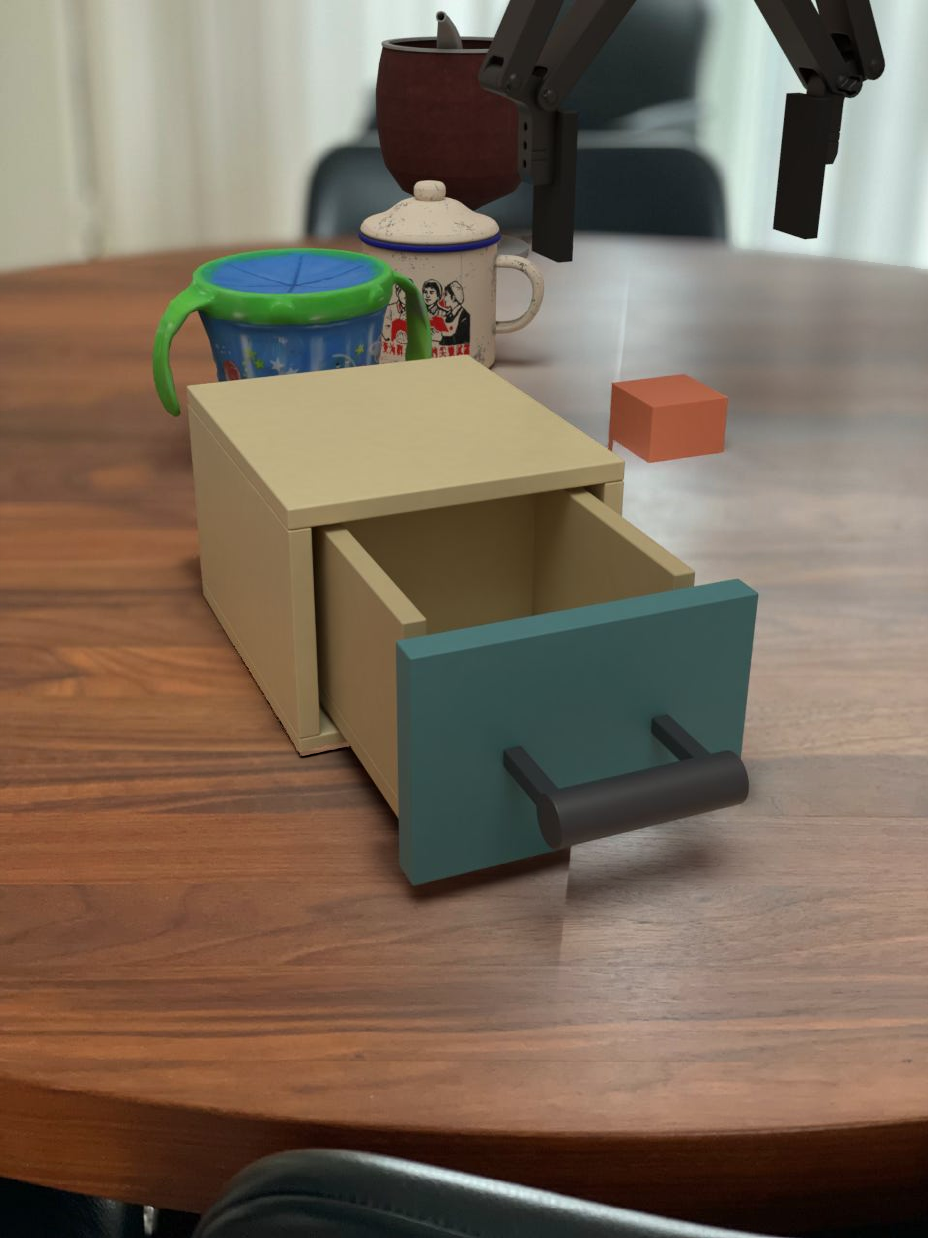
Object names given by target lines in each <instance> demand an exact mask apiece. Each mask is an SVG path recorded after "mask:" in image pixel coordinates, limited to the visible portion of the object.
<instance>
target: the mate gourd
mask: <svg viewBox="0 0 928 1238" xmlns="http://www.w3.org/2000/svg"><path fill="white" fill-rule="evenodd" d="M435 20H436V22H437V29H436V36H435V35H433V36H411V37H410V36H409V37H397V38H390V39H386V40H383V41H381V52H380V55H379V56H380V57H379V61H378V67H377V68H378V69H377V77H376V85H375V123H376V130H377V134H378V141H379V148H380V151H381V156H382V159H383V163H384V166H385V168H386V169H387V171H388V172H389V174H390V175H391V176H392V178H393V179H394V181H395V182H396V184H397V185H398V186H399V188H400V190H402V191H403V193H406V194H408V195H410V196H412V197H415V195H414V186H415V184H416V183H417V182H419V181H428V180H430V181H440V182H442V183H443V184H444V185H445V188H446V194H445V196H444V197H447V198H451V199H454V200H457V201H459V202H461V203H462V204H463V205H465V206H466V207H467V208H469V209H470V210H472V211H473V212H475V211H477V210H479V209H481V208H482V207H485V206H486V205H488V204H492V203H493V202H495V201H497V200H499V199H501V198H504V197H506V196H508V195H510V194H513V193H514V192H515V191H516V190H517V189H518V188H519V187H520V185H521V183H522V182H523V181H521V178H520V175H519V172H518V148H519V146H518V134H519V111H518V108H517V106H516V104H515V103H514V102H513V101H512V100H510V99H509V98H506V97H503V96H501V95H498V94H496V93H493V92H491V91H487V90H484V89H483V88H482V87H481V85H480V83H479V79H478V75H479V71H480V68H481V66H482V64H483V61H484V59H485V57H486V55H487V52H488V50H489V48H490V45H491V43H492V41H493V38H494V36H468V35H467V36H466V35H465V36H463V35H460V32H459V30H458V28H457V26H456V25H455V24H454V22H453V20H452V19H451V18H450V16H449V15H447V13H446V12H445V11H443V10H439V11H437V12H436V13H435ZM527 254H528V255H529V244H528V243H527V241H525V240H523V239H521V238H517V237H515V236H511V235H507V234H502V233H501V238H500V240H499V241H498V242H497V255H514V256H520V257H523V258H525V257H526V256H527ZM527 257H528V256H527ZM527 257H526V258H527ZM526 258H525V259H526Z"/></svg>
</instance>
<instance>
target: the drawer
mask: <svg viewBox="0 0 928 1238" xmlns="http://www.w3.org/2000/svg"><path fill="white" fill-rule="evenodd" d="M310 528H311V532H312V555H313V578H314V601H315V624H316V647H317V670H318V693H319V700H320V701H321V703H322V704H323V706H324V707H325V709H326V710H327V712H328V713H329V715H330V716H331V718H332V719H333V721H334V722H335V724H336V725H337V727H338V728H339V730H340V731H341V733H342V734H343V736H344V737H345V739H346V740H347V742H348V743H349V745H350V746H351V747H350V748H351V750H352V751H353V752H354V754H355V756H356V757H357V759H358V760H359V762H360V763H361V765H362V766H363V768H364V769H365V770H366V772H367V774H368V775H369V777H370V779H372V781H373V782H374V784H375V786H376V787H377V789H378V790H379V792H380V793H381V794H382V796H383V798H384V799H385V800H386V802H387V804H388V805H389V807H390V809H391V810H392V811H393V812H394V814H395V815H396V817H397V819H398V860H399V864H398V865H399V867H400V868H401V870H402V872H403V873H404V874H405V876H406V878H407V879H408V881H409V882H410V884H411V885H412V887H413V886H419V885H424V884H429V883H431V882H435V881H439V880H444V879H447V878H452V877H456V876H459V875H464V874H468V873H472V872H476V871H480V870H483V869H488V868H492V867H496V866H501V865H504V864H509V863H512V862H516V861H520V860H524V859H529V858H532V857H536V856H540V855H544V854H549V853H552V852H557V851H560V850H564V849H569V848H572V846H576V845H577V846H578V845H581V844H584V843H588V842H592V841H596V840H601V839H604V838H609V837H613V836H617V835H621V834H626V833H629V832H634V831H637V830H641V829H645V828H649V827H654V826H657V825H662V824H666V823H670V822H674V821H677V820H682V819H686V818H689V817H694V816H698V815H703V814H706V813H710V812H714V811H718V810H722V809H727V808H730V807H731V808H732V807H734V806H738V805H742V804H743V803H745V802H746V801H747V798H748V796H749V792H750V779H749V776H748V772H747V769H746V766H745V763H744V762H743V760H742V751H743V741H744V733H745V724H746V723H745V722H746V715H747V706H748V705H747V704H748V695H749V687H750V686H749V685H750V676H751V666H752V658H753V648H754V639H755V630H756V622H757V613H758V603H759V592H758V591H756V590H755V589H753V588H752V587H751V586H749V585H748V584H747V583H746V582H744V581H742V580H741V579H740V578H733V579H727V580H722V581H717V582H716V581H715V582H711V583H705V584H700V585H695V581H696V571H695V570H694V569H693V568H692V567H691V566H689V565H688V564H687V563H685V562H683V561H682V560H681V559H680V558H678V557H677V556H676V555H674V554H673V553H671V552H670V551H669V550H667V549H666V548H665V547H664V546H663V545H660V544H659V543H658V542H657V541H655V540H654V539H653V538H652V537H650V536H649V535H647V534H646V533H645V532H644V531H642V530H641V529H639V528H638V527H637V526H635V525H634V524H633V523H631V522H630V521H628V520H627V519H626V518H624V517H623V515H622V516H620V515H619V514H618V513H616V512H615V511H613V510H612V509H611V508H609V507H608V506H607V505H605V504H604V503H603V502H601V501H600V500H599V499H597V498H596V497H595V496H593V495H592V494H591V493H589V492H588V491H587V490H585V489H584V488H582V487H574V488H568V489H561V490H554V491H548V492H541V493H534V494H528V495H521V496H514V497H508V498H501V499H494V500H488V501H481V502H474V503H468V504H461V505H454V506H448V507H441V508H434V509H428V510H421V511H415V512H408V513H401V514H395V515H388V516H381V517H375V518H368V519H361V520H355V521H348V522H341V523H335V524H328V525H321V526H315V527H310Z"/></svg>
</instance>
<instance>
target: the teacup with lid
mask: <svg viewBox="0 0 928 1238" xmlns="http://www.w3.org/2000/svg"><path fill="white" fill-rule="evenodd" d="M445 194H446V188H445V185H444V184H443V183H442V182H440V181H430V180H428V181H419V182H417V183H416V184H415V186H414V195H415V196H412V197H408V198H405V199H402V200H400V201H398V202H397V203H396V204H394V205H393V206H392V207H390V208H388V209H387V210H385V211H383V212H379V213H375V214H373V215H370V216H369V217H367V218H365V219H364V220H363V221H362V223H361V225H360V230H359V231H358V238H359V240H360V241H361V243H362V254H367V255H370V256H373V257H376V258H378V259H381V260H383V261H384V262H386V263H387V264H388V265H389V266H390V267H391V269H392V270H393V271H395V272H397V273H400V274H401V275H403V276H405V277H407V278H408V279H409V280H411V281H412V282H413V283H414V284H415V285H416V287H417V288H418V290H419V291H420V293H421V295H422V296H423V299H424V302H425V305H426V308H427V311H428V315H429V321H430V326H431V334H432V356H431V359H432V358H441V357H450V356H459V355H469V356H470V357H472V358H473V359H475V360H476V361H478V362H479V363H481V364H482V365H484V366H485V367H487V368H488V369H490V368H491V366H493V364H494V362H495V359H496V335H505V334H513V333H517V332H518V331H521V330H523V329H524V328H526V327H527V326H528V325H530V324H531V322H532V321H533V320H534V319H535V318H536V316H537V315H538V313H539V311H540V308H541V306H542V303H543V300H544V296H545V281H544V277H543V274H542V272H541V271H540V269H539V268H538V267H537V266H536V265H535V264H534V263H533V262H532V261H530V260H529V259H527V258H523V257H520V256H514V255H497V242H498V241H499V240H500V238H501V234H502V232H501V231H500V227H499V225H498V223H497V222H496V220H495V219H493V218H492V217H490V216H488V215H486V214H483V213H479V212H475V211H474V212H473V211H472V210H470V209H469V208H467V207H466V206H465V205H463V204H462V203H461V202H459V201H457V200H454V199H451V198H447V197H444V196H445ZM498 268H499V269H501V268H502V269H503V268H506V269H515V270H517V271H520V272H522V273H523V274H524V275H526V277H527V278H528V279H529V281H530V283H531V287H532V292H531V293H532V295H531V300H530V304H529V306H528V307H527V310H526V311H525V312H524V313H523V314H522V315H520V316H519V317H517V318H515V319H511V320H497V277H498V276H497V275H498V274H497V271H498ZM381 340H382V346H381V353H380V357H379V364H387V363H396V362H405V352H406V346H407V342H408V340H407V324H406V304H405V292H404V291H403V290H402V289H401V288H400V287H399V286H398V285H397V284H396V283H395V284H394V285H393V293H392V297H391V300H390V302H389V304H388V306H387V310H386V313H385V317H384V323H383V331H382V338H381Z"/></svg>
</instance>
